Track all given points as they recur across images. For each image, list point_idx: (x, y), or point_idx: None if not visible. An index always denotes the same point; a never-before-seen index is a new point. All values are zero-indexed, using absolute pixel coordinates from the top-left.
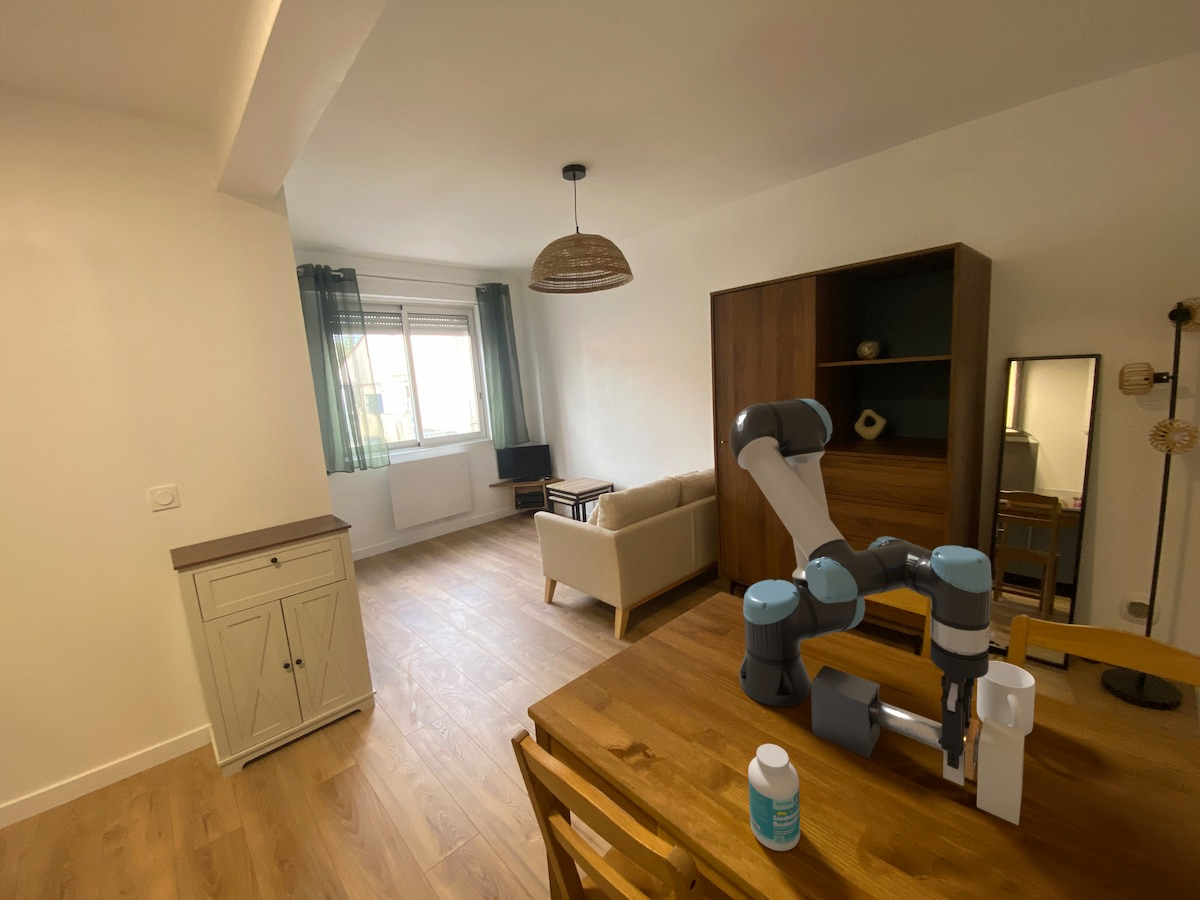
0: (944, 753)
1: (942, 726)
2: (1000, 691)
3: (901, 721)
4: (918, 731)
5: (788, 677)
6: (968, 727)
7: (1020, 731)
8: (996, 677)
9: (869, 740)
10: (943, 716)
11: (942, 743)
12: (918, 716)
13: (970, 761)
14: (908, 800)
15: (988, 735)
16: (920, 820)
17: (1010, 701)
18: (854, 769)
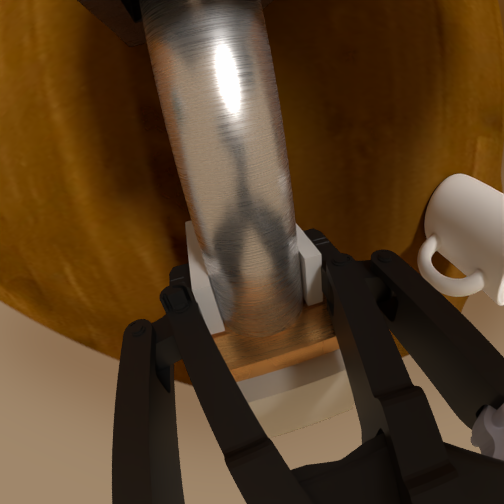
0: (189, 266)
1: (115, 421)
2: (490, 265)
3: (175, 124)
4: (186, 196)
5: None
6: (327, 306)
7: (344, 409)
8: None
9: (130, 33)
10: (116, 475)
11: (122, 349)
12: (256, 178)
13: None
14: (82, 182)
15: (273, 405)
16: (60, 225)
17: (470, 284)
18: (66, 53)
